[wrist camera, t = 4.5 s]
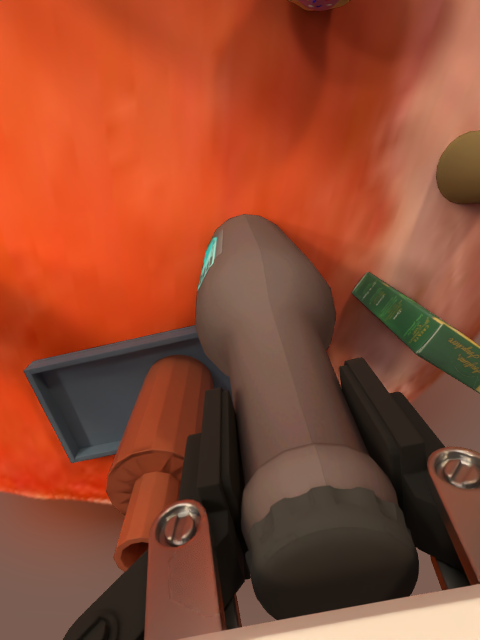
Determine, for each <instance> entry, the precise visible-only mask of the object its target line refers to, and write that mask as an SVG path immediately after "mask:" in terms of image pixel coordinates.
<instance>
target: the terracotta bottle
mask: <svg viewBox="0 0 480 640" xmlns="http://www.w3.org/2000/svg"><path fill="white" fill-rule="evenodd" d="M211 389H214V384H213V378H212V375H211V373H210V371H209V370H208V368H207V367H206V366H205V365H204V364H203V363H202V362H200V361H199V360H197V359H195V358H193V357H190V356H186V355H170V356H167V357H164V358H162V359H160V360H158V361H157V362H156V363H154V364H153V365H152V367H151V368H150V369H149V371H148V373H147V375H146V377H145V379H144V382H143V385H142V387H141V390H140V393H139V395H138V398H137V400H136V403H135V406H134V408H133V411H132V413H131V416H130V419H129V421H128V424H127V426H126V429H125V432H124V434H123V437H122V440H121V442H120V445H119V447H118V450H117V453H116V455H115V458H114V460H113V463H112V466H111V468H110V471H109V473H108V476H107V490H106V492H107V494H108V496H109V498H110V500H111V502H112V504H113V506H114V507H115V508H116V509H117V510H118V511H120V512H121V513H122V514H123V515H125V519H124V522H123V526H122V529H121V533H120V536H119V540H118V544H117V547H116V550H115V554H114V560H115V562H116V564H117V566H118V567H119V568H120V569H121V570H123V571H124V572H125V571H126V570H127V569H128V568H129V567H130V566H131V565H132V564H133V563H135V562H136V561H137V560H138V559H139V558H140V557H141V556H142V555H143V554H144V553H145V552H146V551H147V550H148V548H149V533H150V528H151V525H152V523H153V521H154V519H155V518H156V516H157V515H158V514H159V513H160V512H161V511H162V510H163V509H164V508H166V507H167V506H168V505H170V504H172V503H174V502H176V501H178V498H179V491H180V484H181V477H182V470H183V463H184V456H185V448H186V441H187V437H188V436H189V435H192V434H197V433H201V431H202V420H203V408H204V397H205V391H206V390H211Z"/></svg>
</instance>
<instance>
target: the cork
mask: <svg viewBox="0 0 480 640" xmlns="http://www.w3.org/2000/svg"><path fill="white" fill-rule="evenodd" d="M436 179H437V184H438V188H439V190H440V192H441V193H442V195H443V196H444V197H445V198H447V199H448V200H449V201H451V202H454V203H458V204H465V203H477V202H480V131H471V132H468V133H466V134H463V135H461V136H459V137H458V138H456V139H455V140H454V141H453V142H452V143H450V144H449V146H448V147H447V148H446V150H445V151H444V152H443V154H442V156H441V158H440V161H439V163H438V165H437V174H436Z"/></svg>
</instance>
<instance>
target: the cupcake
mask: <svg viewBox="0 0 480 640" xmlns="http://www.w3.org/2000/svg"><path fill="white" fill-rule="evenodd" d="M287 1H289V2H292V3H294V4H296V5H298V6H300V7H301V8H303V9H305V10H309V11H310V10H317V11H323V10H328V9H333V8H338V7H341V6H343V5H345V4H346V3H348V2H349V1H350V0H287Z"/></svg>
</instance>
